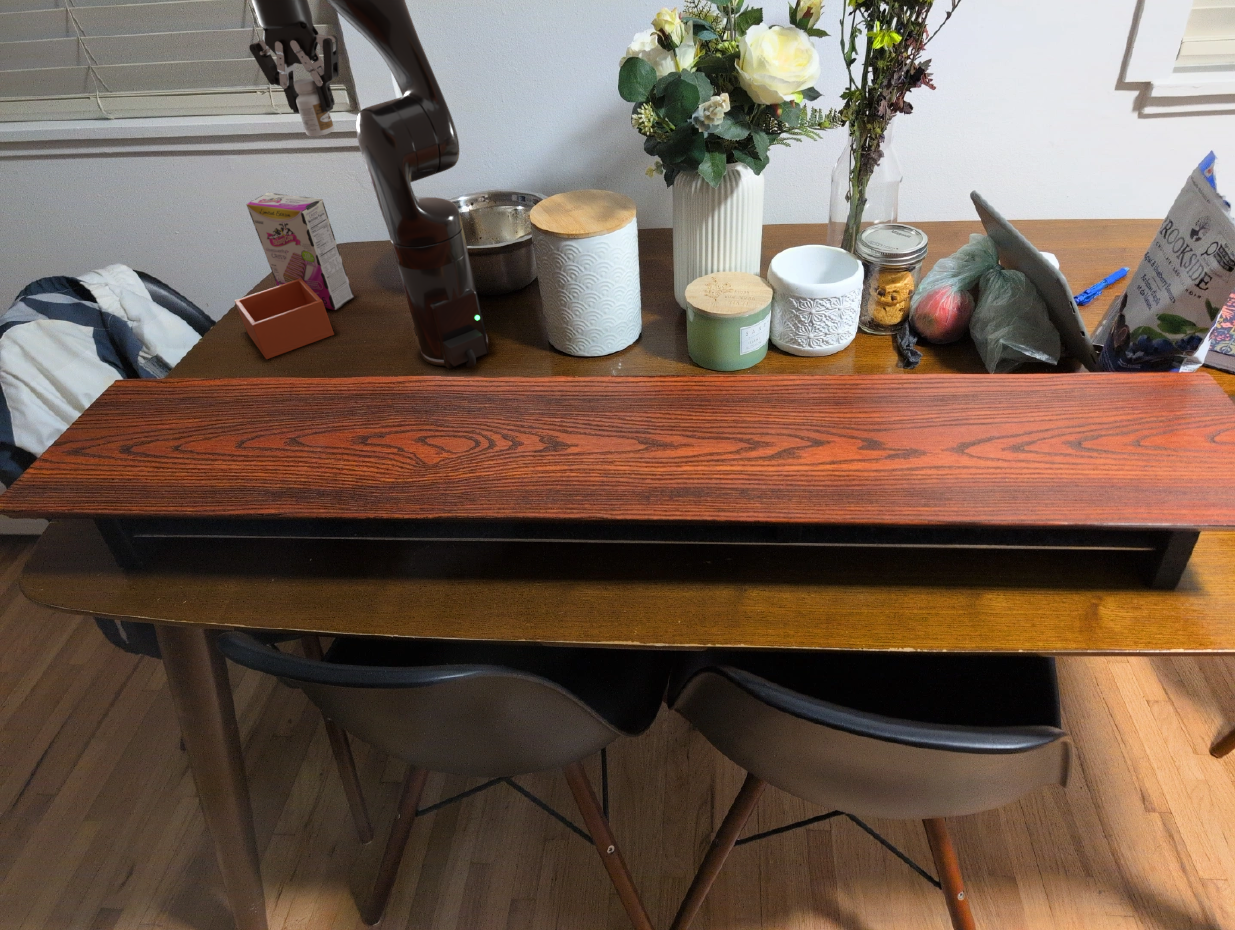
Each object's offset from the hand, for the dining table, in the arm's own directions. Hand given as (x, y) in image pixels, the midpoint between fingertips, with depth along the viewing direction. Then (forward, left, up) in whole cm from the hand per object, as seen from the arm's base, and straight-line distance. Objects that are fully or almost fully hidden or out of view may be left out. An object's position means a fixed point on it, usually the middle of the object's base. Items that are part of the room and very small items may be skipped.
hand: (314, 110), depth 132 cm
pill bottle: (0, 0, -4) cm, 4 cm away
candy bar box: (-11, +11, -25) cm, 29 cm away
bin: (-19, +18, -25) cm, 36 cm away
